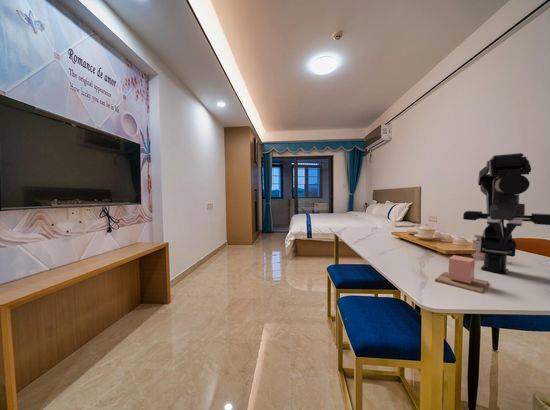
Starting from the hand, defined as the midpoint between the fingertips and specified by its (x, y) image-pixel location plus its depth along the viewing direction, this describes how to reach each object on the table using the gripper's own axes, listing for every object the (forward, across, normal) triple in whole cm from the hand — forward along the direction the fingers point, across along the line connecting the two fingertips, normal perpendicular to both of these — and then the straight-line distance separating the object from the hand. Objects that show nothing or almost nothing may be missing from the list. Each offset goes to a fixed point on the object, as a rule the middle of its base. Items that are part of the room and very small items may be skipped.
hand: (503, 244), depth 67 cm
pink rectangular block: (+11, -8, -10) cm, 17 cm away
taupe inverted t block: (+12, -8, -10) cm, 18 cm away
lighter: (+12, -9, +29) cm, 33 cm away
